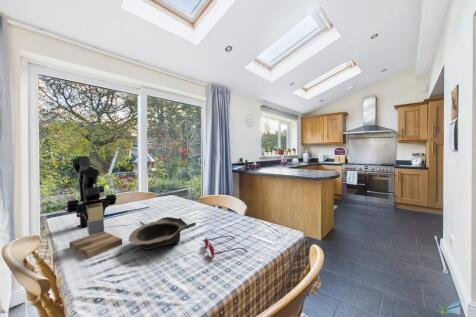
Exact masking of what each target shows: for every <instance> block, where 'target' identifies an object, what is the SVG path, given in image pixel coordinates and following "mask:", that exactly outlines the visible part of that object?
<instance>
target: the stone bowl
mask: <svg viewBox="0 0 476 317" xmlns="http://www.w3.org/2000/svg"><path fill="white" fill-rule="evenodd" d="M187 226H188V223H187V222H186V221H184V220H183V219H182V218H181V217H180V218H177V217H172V216H166V217H161V218H160V219H157V221H156V220H155V221H150V222H148V223H145V224H143V225H142V226H141V225H140V226H139V227H138V228H136V229H134V230H133V231H132V232H131V233H130V234H129V236H128V242H130V243H131V244H133V245H136V246H140V247H141V249H142V250H143V249H144V250H151V249H156V248H161V247H164V246H167V245H170V244H173V245H176V244H179V243H180V240H181V232H182V231H183V230H184V229H185V227H187Z"/></svg>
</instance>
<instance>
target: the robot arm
mask: <svg viewBox="0 0 476 317" xmlns="http://www.w3.org/2000/svg"><path fill="white" fill-rule="evenodd" d="M91 163H92V162H91V158H89V157H88V155H87V156H86V155H84V156H83V155H82V156H81V155H80V156H77V157H76V158H74V159H72V163H71V167H72V169H73V171H74V173H75V174H76V175H77V179H78V190H79V198H80V199H72V200H68V201H67V202H66V211H67V213H72V212H75V216H76V218H77V219H78V218H79V224H78V225H77V227H79V228H81V229H85V228H87V221H88V215H87V210H86V206H89V205H95V204H101V205H102V206H103V218H104V217H105V211H106V209H107V208H108V207H109V206H113V205H115V204H116V202H117V196H116V194H106V196H105V198H101V194H103V193H104V192H105V186H104V184H101V185H99V186H98V185H97V183H98V180H99V177H100V172H99V170H98V169H96V168H95V167H93V166H92V164H91Z"/></svg>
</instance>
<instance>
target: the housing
mask: <svg viewBox="0 0 476 317" xmlns="http://www.w3.org/2000/svg"><path fill="white" fill-rule="evenodd" d="M86 210H87V215H88V221H87V227H86V228H87V233H88V236H89V235H93V234H97V233H101V232H105V223H104V217H103V206H102V203H99V204H95V205H89V206H86Z"/></svg>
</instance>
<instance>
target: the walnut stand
mask: <svg viewBox="0 0 476 317" xmlns="http://www.w3.org/2000/svg"><path fill="white" fill-rule="evenodd" d="M123 244H124V243H123V239H122V238H121V237H118V236H116V235H113V234H112V233H109V232H107V231H104V232H101V233H97V234H93V235H89V234H88V235H87V236H84V237H80V238H77V239H74V240H71V241H69V248H70V249H72V250H74V251H75V252H77V253H78V254H80V255H82V256H83V257H85V258H87V259H90V258H93V257H96V256H97V255H100V254H102V253H105V252H108V251H110V250H112V249H114V248H116V247H120V246H121V245H123Z"/></svg>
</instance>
